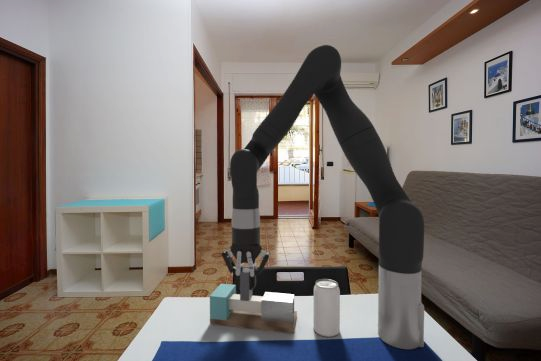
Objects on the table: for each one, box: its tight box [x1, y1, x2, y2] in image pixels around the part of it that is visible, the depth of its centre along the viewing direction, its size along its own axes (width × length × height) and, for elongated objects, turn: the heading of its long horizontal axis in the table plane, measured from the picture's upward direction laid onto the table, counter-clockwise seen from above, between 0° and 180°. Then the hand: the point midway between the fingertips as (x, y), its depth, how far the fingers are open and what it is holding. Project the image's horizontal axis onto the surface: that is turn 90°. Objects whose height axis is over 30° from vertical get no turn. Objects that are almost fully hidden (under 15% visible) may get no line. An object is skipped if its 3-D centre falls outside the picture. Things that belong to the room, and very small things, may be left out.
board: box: [209, 310, 298, 334], centre depth 73 cm, size 22×8×2 cm, turn 79°
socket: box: [209, 283, 237, 320], centre depth 75 cm, size 4×8×6 cm, turn 169°
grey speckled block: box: [261, 291, 295, 324], centre depth 72 cm, size 8×5×5 cm, turn 79°
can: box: [313, 278, 341, 338], centre depth 68 cm, size 6×6×12 cm
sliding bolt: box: [229, 267, 264, 313], centre depth 73 cm, size 14×4×10 cm, turn 79°
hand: (246, 288), depth 73 cm, fingers closed on sliding bolt, 2 cm apart
